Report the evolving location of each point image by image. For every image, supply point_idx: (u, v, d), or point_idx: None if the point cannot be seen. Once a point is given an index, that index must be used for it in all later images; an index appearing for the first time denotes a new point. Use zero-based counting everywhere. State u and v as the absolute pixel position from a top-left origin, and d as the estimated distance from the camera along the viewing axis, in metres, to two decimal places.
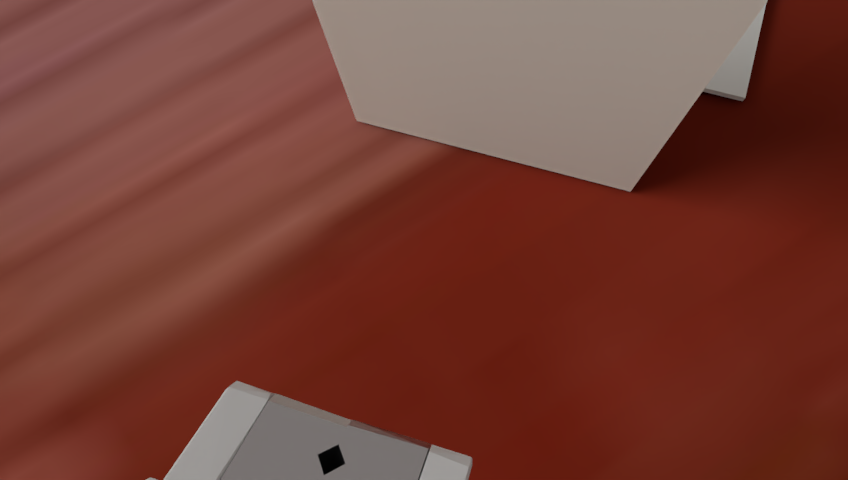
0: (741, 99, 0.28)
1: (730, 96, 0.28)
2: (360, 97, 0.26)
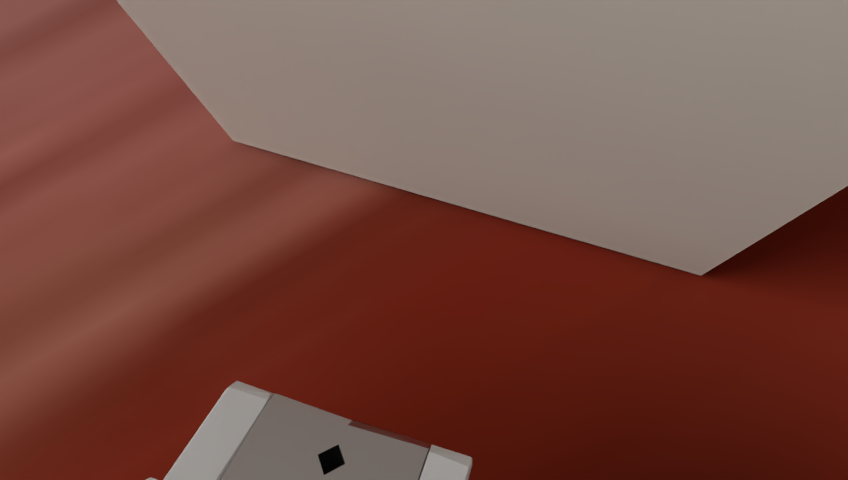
0: None
1: None
2: (219, 102, 0.14)
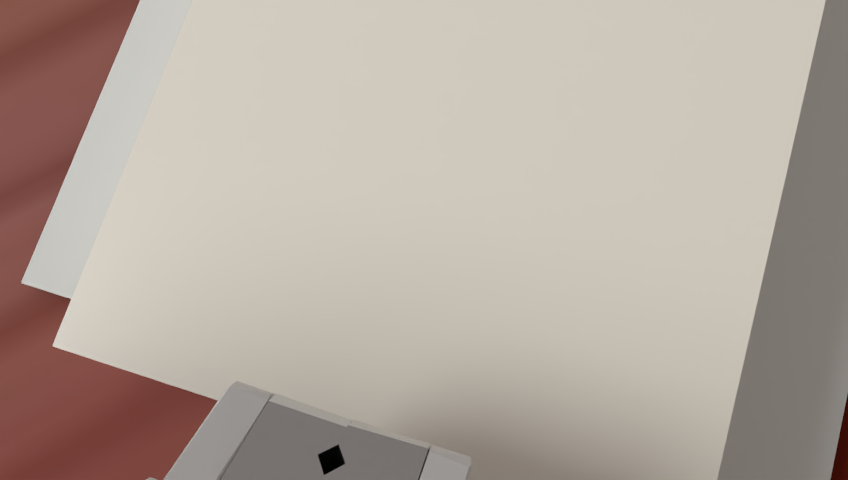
0: None
1: None
2: (139, 208, 0.13)
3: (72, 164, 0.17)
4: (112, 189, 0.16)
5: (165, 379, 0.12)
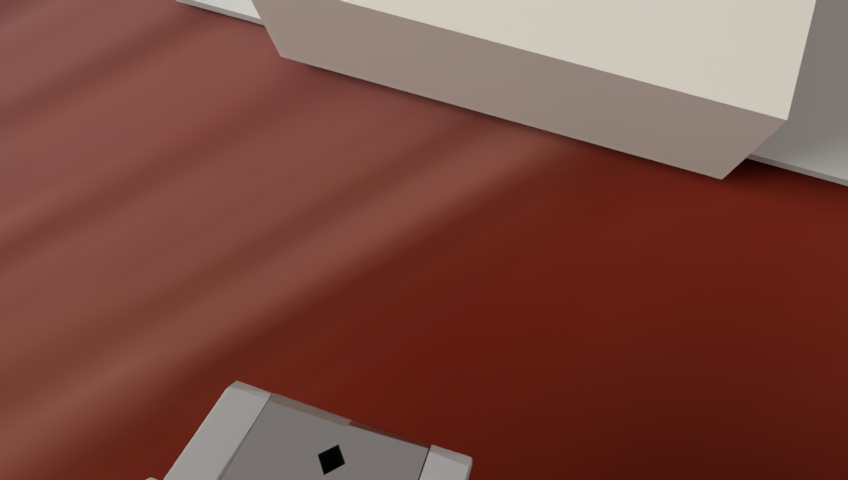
0: None
1: (847, 183, 0.17)
2: None
3: None
4: None
5: None
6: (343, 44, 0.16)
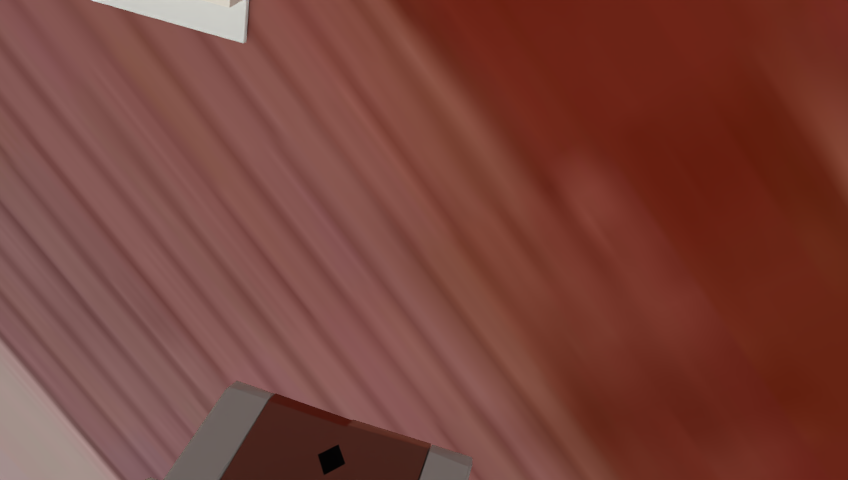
0: None
1: None
2: None
3: (196, 29, 0.41)
4: (201, 11, 0.40)
5: None
6: None
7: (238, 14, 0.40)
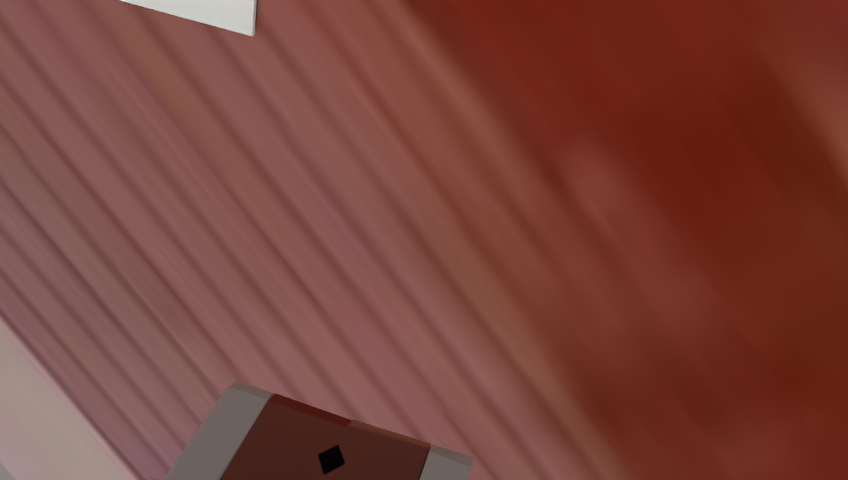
0: None
1: None
2: None
3: (205, 23, 0.42)
4: (210, 5, 0.41)
5: None
6: None
7: (247, 8, 0.41)
